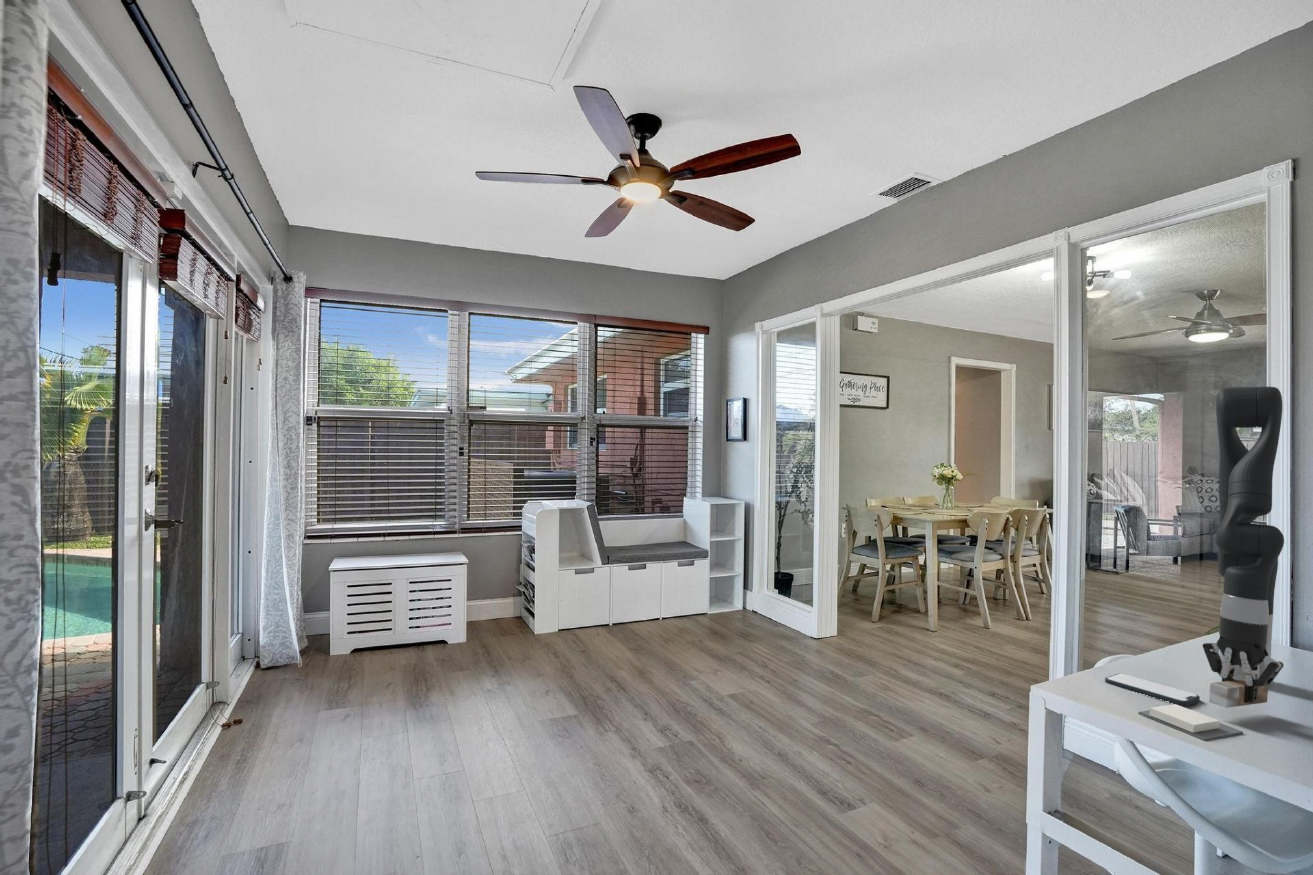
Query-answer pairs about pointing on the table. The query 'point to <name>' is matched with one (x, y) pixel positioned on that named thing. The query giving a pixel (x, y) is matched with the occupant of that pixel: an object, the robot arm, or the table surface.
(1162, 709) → the tile
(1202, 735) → the mat
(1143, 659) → the table surface
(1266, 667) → the robot arm
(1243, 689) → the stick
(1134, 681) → the phone case
